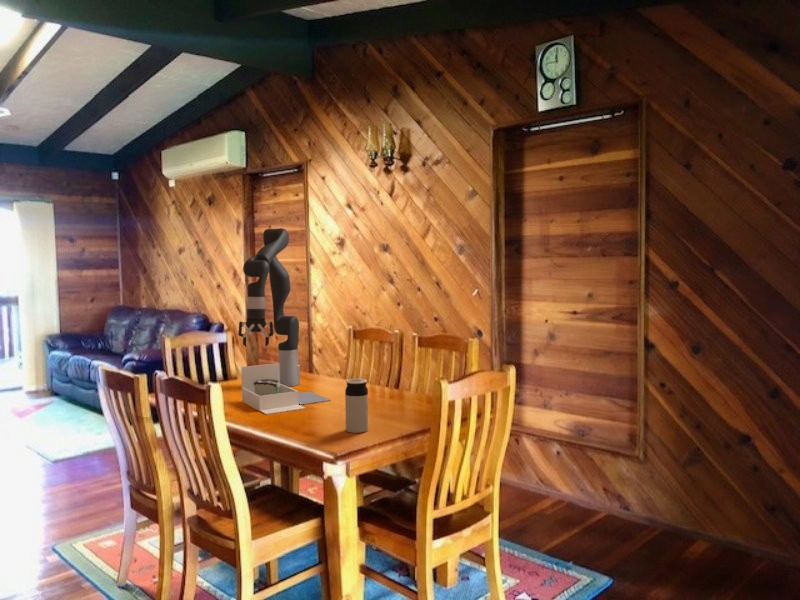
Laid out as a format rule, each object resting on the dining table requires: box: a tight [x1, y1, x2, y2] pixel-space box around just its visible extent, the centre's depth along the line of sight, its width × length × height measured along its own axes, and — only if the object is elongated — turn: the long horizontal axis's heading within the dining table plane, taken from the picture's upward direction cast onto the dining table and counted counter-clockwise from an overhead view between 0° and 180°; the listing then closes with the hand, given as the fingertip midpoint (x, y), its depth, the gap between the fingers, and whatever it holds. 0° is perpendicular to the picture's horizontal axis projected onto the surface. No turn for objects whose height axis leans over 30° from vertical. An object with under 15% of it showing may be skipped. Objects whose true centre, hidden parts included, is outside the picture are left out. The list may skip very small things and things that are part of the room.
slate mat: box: [298, 391, 332, 406], centre depth 281 cm, size 14×20×1 cm
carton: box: [240, 362, 307, 416], centre depth 268 cm, size 17×27×15 cm, turn 34°
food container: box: [253, 379, 280, 396], centre depth 271 cm, size 12×6×10 cm, turn 65°
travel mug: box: [344, 378, 369, 434], centre depth 229 cm, size 8×8×18 cm
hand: (255, 346), depth 271 cm, fingers open, 8 cm apart
